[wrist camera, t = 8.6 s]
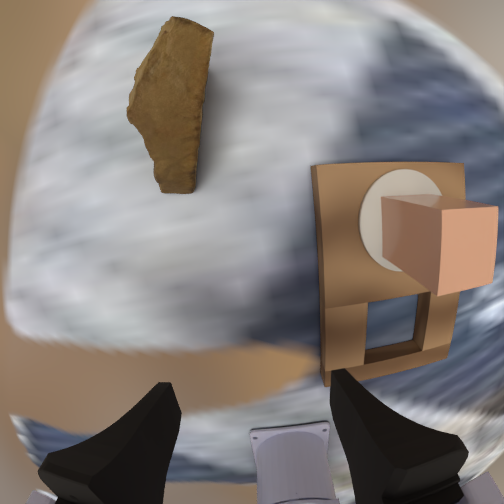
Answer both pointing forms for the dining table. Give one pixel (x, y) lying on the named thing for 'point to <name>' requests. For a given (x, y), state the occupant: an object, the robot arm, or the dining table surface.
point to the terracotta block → (440, 240)
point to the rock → (173, 101)
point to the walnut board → (372, 275)
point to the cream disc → (371, 206)
